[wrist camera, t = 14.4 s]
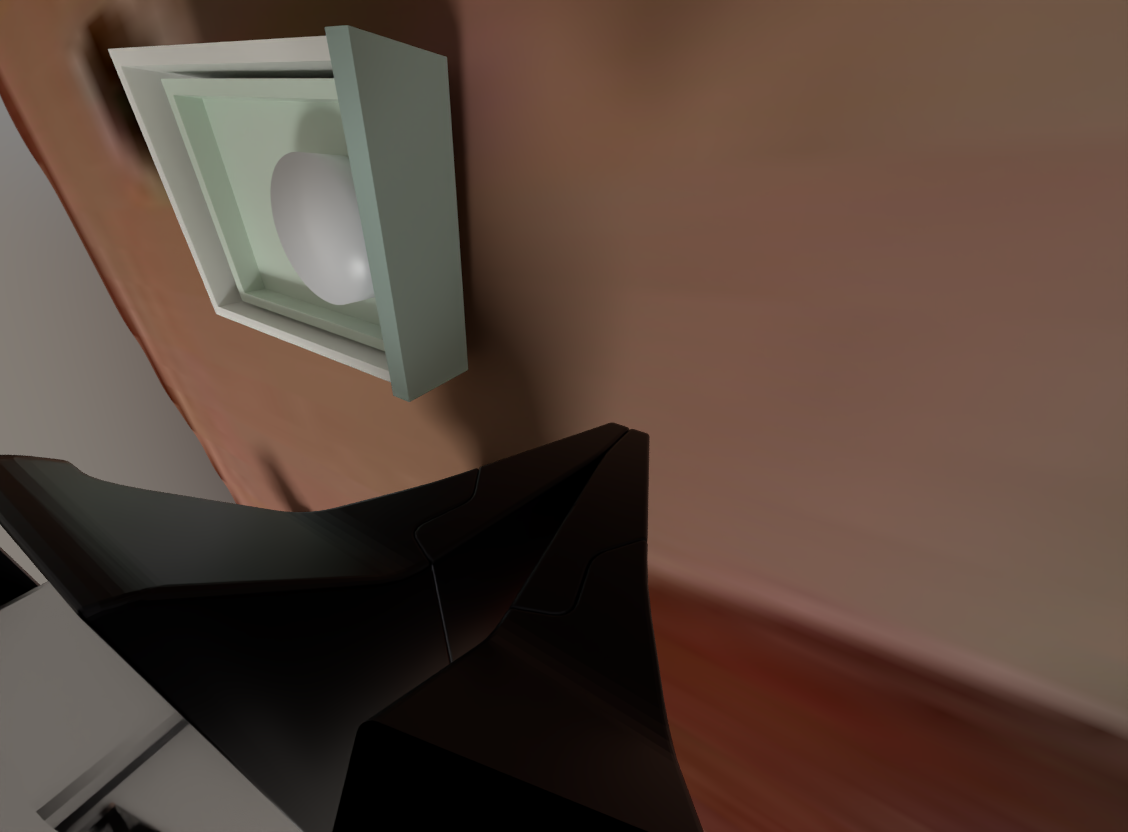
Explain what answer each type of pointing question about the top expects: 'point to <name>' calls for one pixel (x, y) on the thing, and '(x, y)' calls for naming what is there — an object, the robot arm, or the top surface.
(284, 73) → the shallow white bin
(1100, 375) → the top surface
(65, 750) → the robot arm
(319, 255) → the dome
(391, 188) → the drawer
